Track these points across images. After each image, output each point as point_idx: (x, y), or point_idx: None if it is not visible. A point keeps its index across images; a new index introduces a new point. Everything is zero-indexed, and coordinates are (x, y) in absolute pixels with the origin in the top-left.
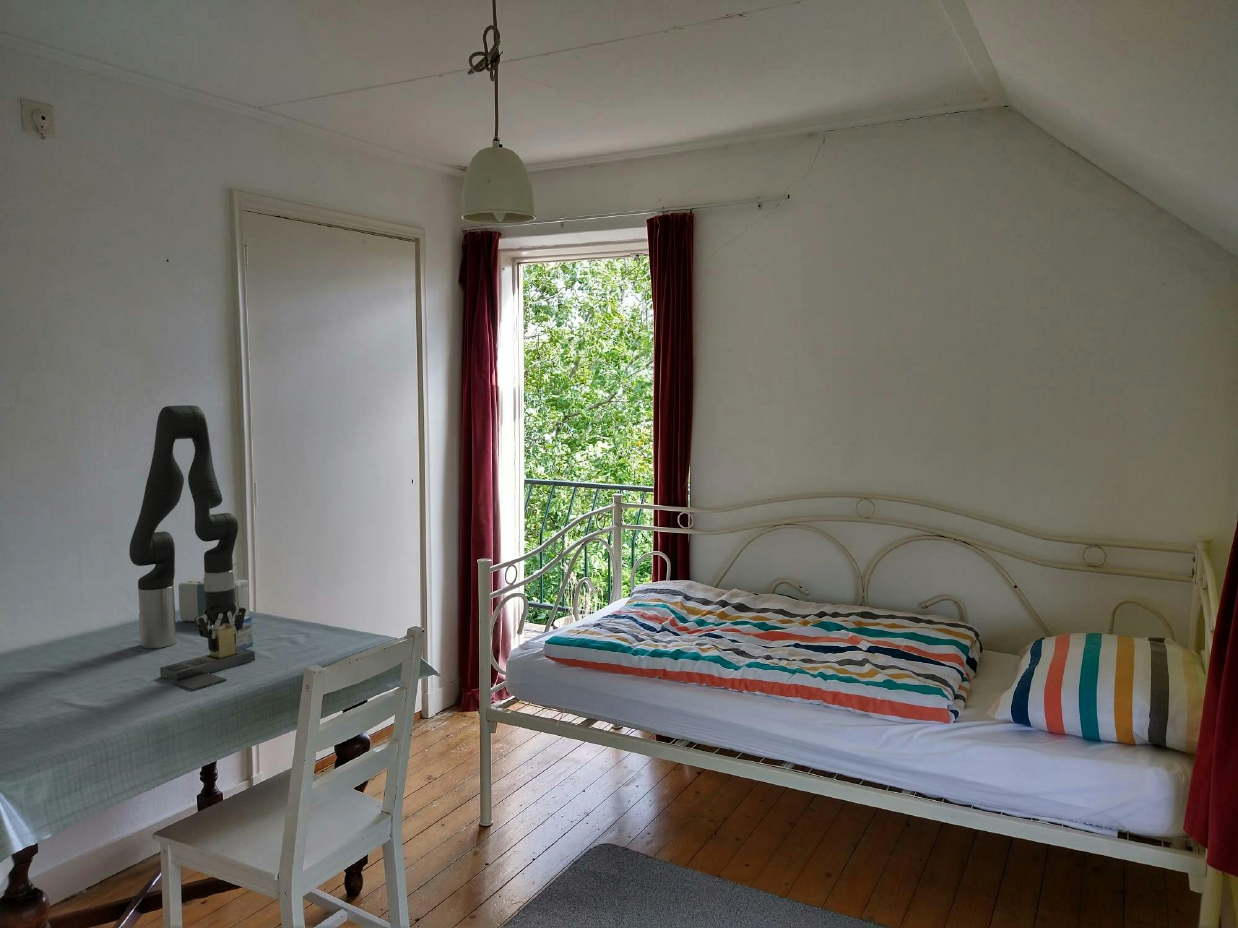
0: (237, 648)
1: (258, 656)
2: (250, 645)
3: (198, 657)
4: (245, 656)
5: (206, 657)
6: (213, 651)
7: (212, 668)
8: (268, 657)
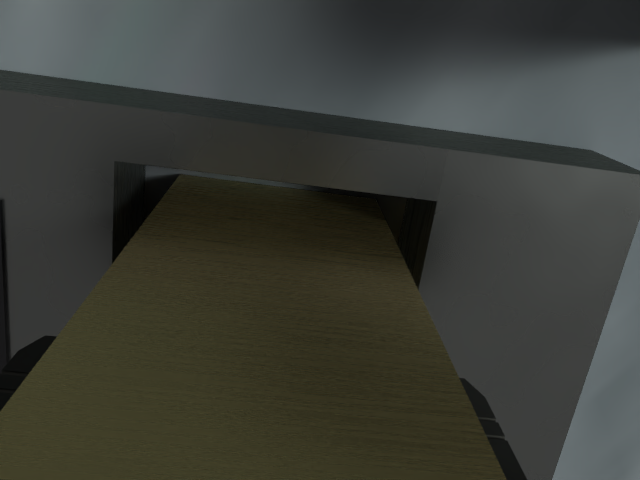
0: (581, 243)
1: (620, 375)
2: None
3: (22, 100)
4: None
5: (91, 207)
6: None
7: None
8: (616, 475)
